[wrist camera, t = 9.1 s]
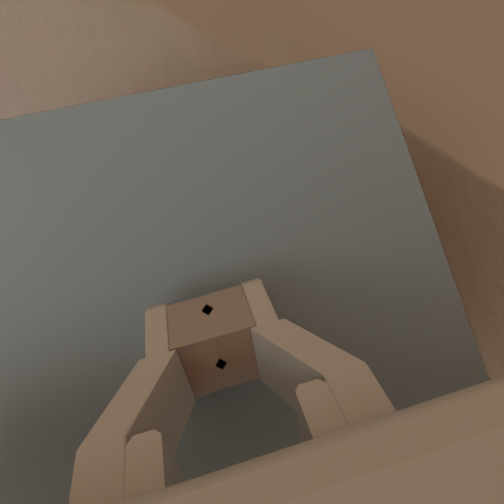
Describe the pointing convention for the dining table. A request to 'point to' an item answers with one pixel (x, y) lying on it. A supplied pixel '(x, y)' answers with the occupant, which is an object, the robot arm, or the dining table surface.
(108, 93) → the dining table surface
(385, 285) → the lid
